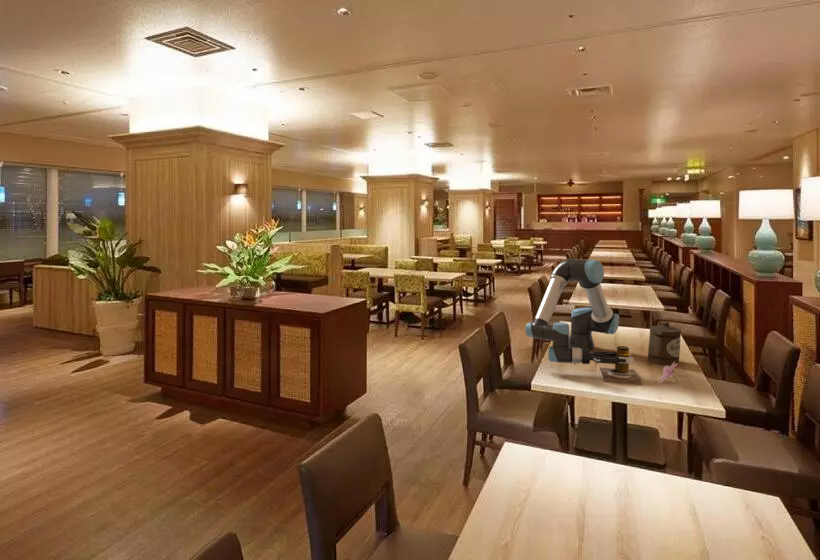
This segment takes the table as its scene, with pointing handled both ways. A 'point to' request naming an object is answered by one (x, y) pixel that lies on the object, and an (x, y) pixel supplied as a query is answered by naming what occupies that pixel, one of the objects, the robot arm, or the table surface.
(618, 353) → the condiment
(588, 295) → the robot arm
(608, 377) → the board
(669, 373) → the lily
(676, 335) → the wooden container
